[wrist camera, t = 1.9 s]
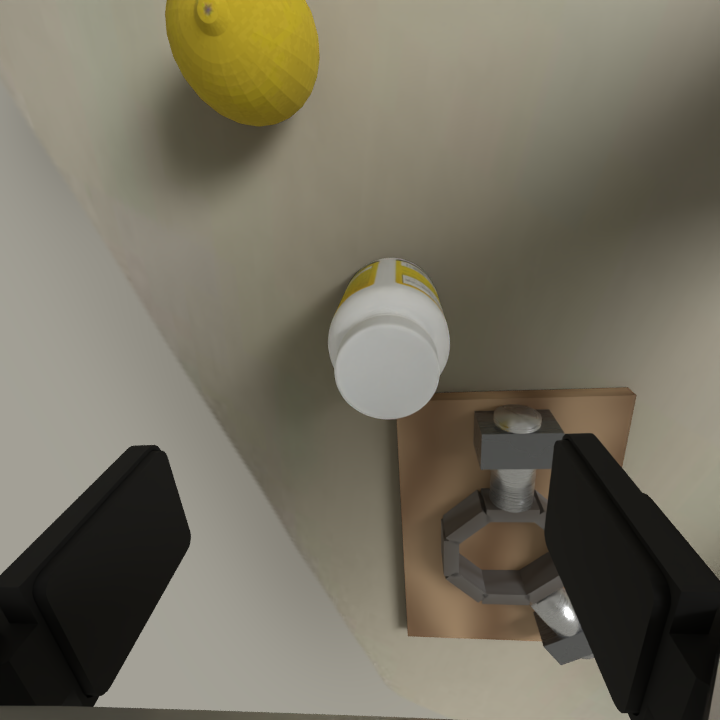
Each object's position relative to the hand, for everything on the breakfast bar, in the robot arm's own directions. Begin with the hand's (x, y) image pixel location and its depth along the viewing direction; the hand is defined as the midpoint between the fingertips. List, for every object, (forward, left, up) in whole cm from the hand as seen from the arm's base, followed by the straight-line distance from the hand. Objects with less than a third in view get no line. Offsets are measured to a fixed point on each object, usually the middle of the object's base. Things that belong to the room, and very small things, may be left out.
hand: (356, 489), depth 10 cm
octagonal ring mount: (-8, +17, -16) cm, 24 cm away
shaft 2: (-12, +23, -16) cm, 30 cm away
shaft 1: (-8, +9, -16) cm, 20 cm away
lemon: (+4, -12, -16) cm, 21 cm away
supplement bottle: (-1, 0, -16) cm, 16 cm away
